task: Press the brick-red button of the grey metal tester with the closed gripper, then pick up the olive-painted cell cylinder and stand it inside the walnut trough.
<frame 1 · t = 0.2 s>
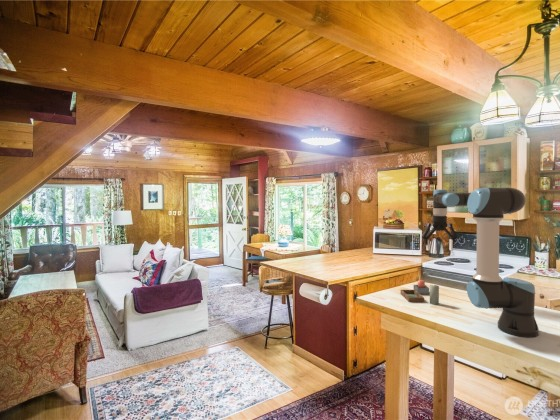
hand: (439, 250, 199), 27 cm above the table, fingers open, 13 cm apart
cell: (434, 303, 186), on the table
tester: (421, 292, 206), on the table
button: (421, 285, 206), point 5 cm above the table, slide at 0.0 cm
trough: (411, 297, 197), on the table
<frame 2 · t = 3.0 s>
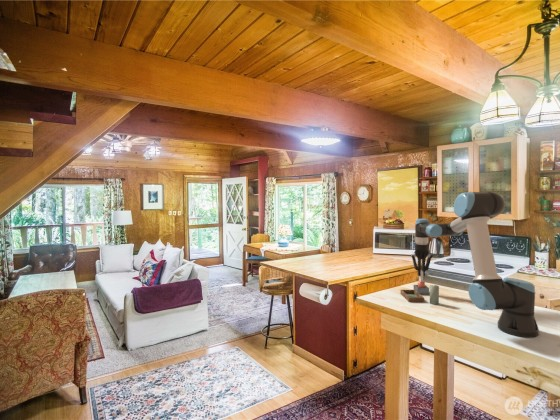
hand: (421, 281, 206), 7 cm above the table, fingers closed
button: (421, 286, 206), point 4 cm above the table, slide at -0.6 cm, touching gripper
everything else where it was.
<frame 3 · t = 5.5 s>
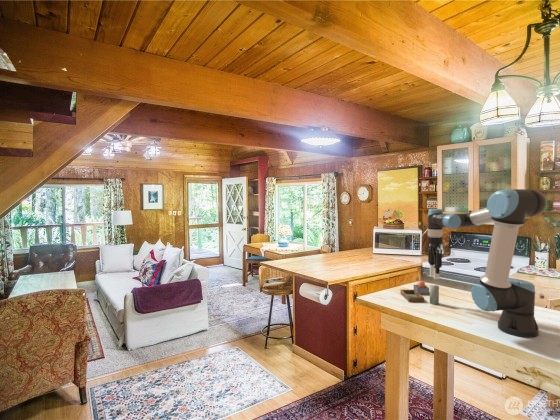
hand: (434, 277, 185), 15 cm above the table, fingers open, 5 cm apart
button: (421, 286, 206), point 4 cm above the table, slide at -0.7 cm
everything else where it was.
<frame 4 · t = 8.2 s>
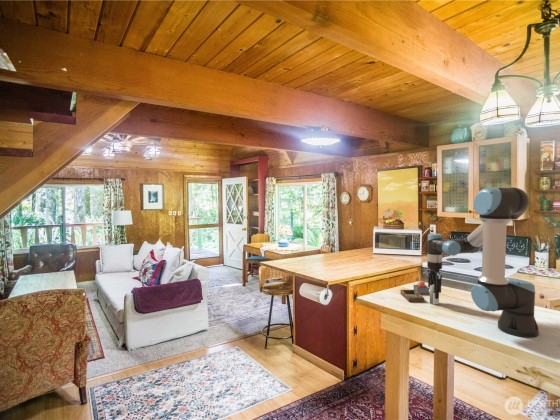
hand: (434, 302, 186), 1 cm above the table, fingers closed on cell, 4 cm apart
cell: (434, 303, 186), on the table, touching gripper
everything else where it was.
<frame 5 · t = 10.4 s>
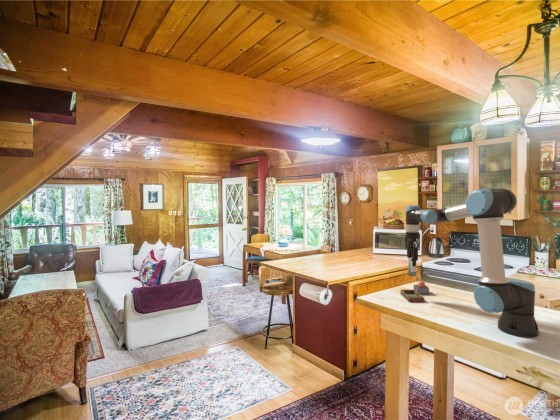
hand: (412, 270, 196), 16 cm above the table, fingers closed on cell, 4 cm apart
cell: (412, 275, 196), point 13 cm above the table, touching gripper
everything else where it was.
when the fingers open (2 cm above the table, at t = 12.7 s): cell stays where it is, resting on trough.
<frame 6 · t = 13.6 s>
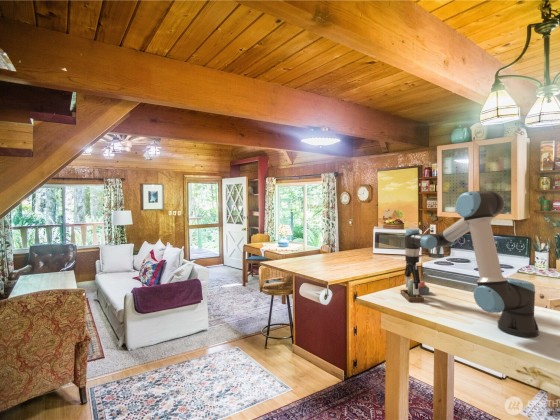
hand: (411, 290, 196), 4 cm above the table, fingers open, 13 cm apart
cell: (411, 297, 197), resting on trough
everything else where it was.
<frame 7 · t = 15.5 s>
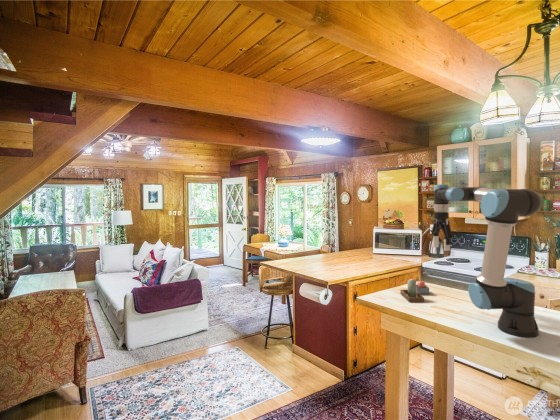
hand: (441, 249, 188), 30 cm above the table, fingers open, 13 cm apart
nothing on the table moved.
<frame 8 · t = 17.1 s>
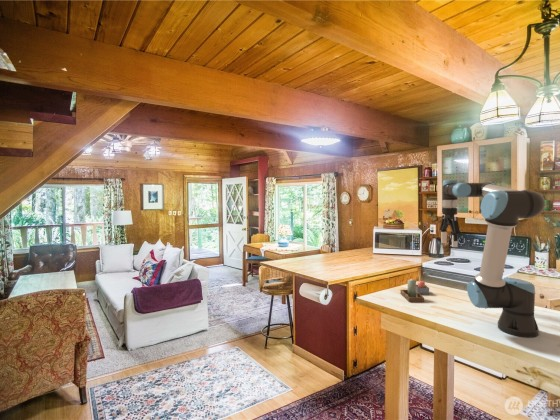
hand: (449, 245, 187), 33 cm above the table, fingers open, 13 cm apart
nothing on the table moved.
at the end: cell inside the target area on the trough (0.2 cm from its centre), point 0.3 cm above the trough's base; cell tilted 1°; button slide at -0.7 cm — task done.
